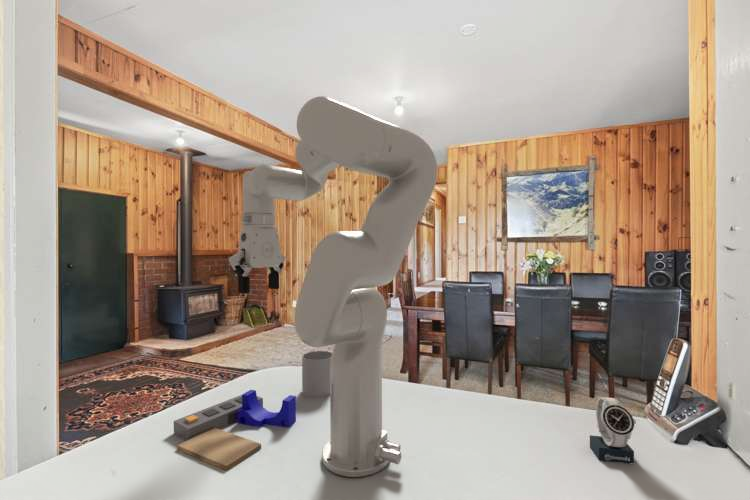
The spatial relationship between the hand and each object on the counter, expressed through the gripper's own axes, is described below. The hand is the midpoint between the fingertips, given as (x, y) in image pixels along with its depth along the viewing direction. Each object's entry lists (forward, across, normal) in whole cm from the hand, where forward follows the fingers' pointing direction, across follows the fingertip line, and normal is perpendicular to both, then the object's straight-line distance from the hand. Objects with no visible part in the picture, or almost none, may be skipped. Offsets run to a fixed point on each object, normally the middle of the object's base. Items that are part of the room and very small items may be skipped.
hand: (259, 290), depth 89 cm
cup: (+29, +13, -8) cm, 32 cm away
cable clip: (+29, -6, -8) cm, 30 cm away
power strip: (+29, -10, +2) cm, 30 cm away
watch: (+28, +13, -74) cm, 81 cm away
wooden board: (+28, -18, -8) cm, 34 cm away
